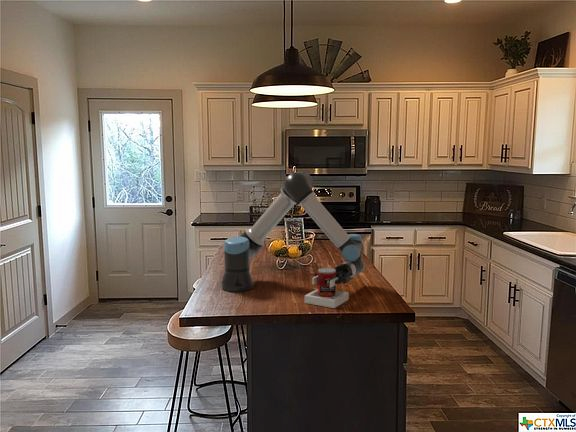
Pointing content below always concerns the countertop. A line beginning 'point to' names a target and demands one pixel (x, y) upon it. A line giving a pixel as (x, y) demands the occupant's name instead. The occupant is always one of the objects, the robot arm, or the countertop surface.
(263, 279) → the countertop surface
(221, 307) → the countertop surface
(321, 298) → the tray
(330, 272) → the canned food
